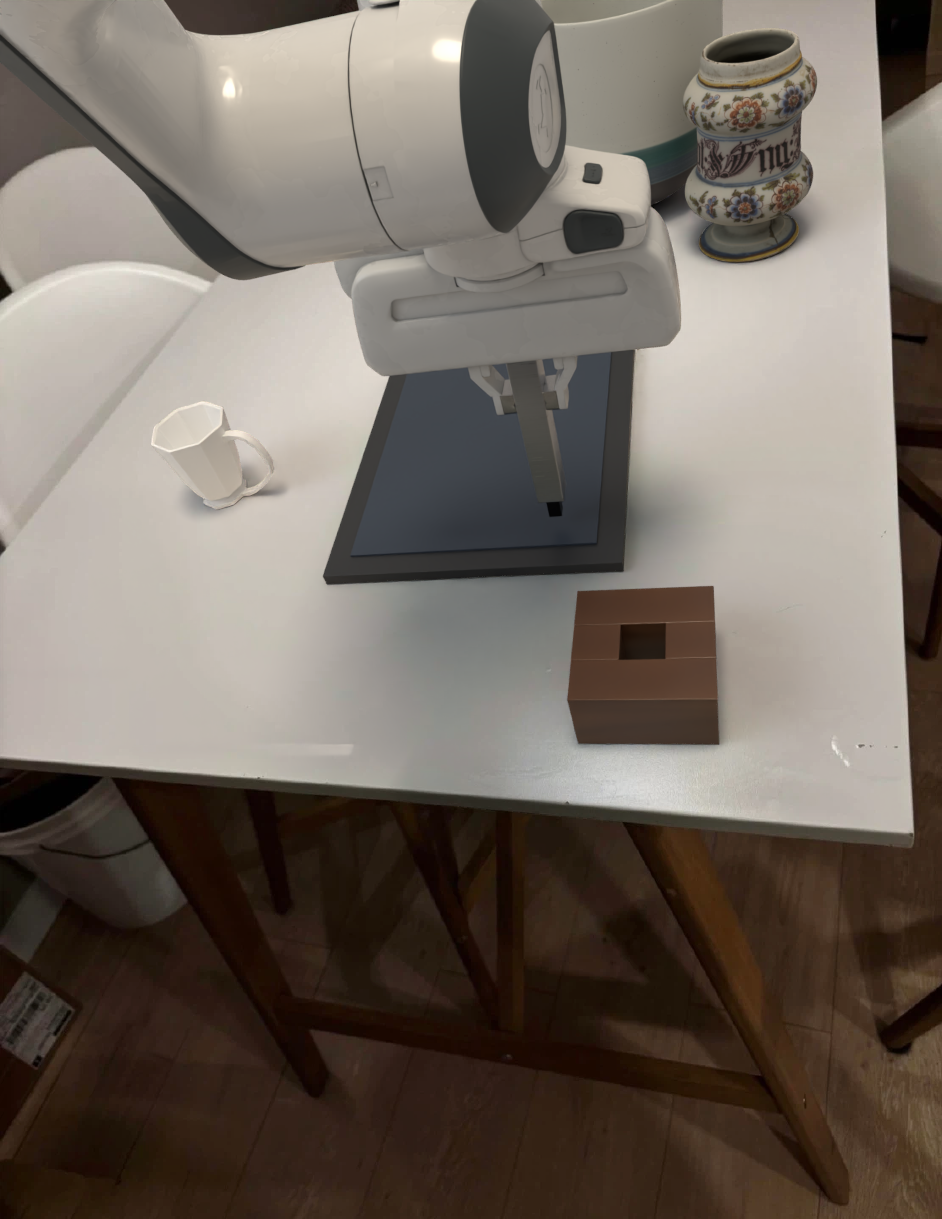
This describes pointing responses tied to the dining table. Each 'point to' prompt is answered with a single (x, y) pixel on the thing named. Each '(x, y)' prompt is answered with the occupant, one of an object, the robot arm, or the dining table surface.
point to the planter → (634, 78)
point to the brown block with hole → (644, 667)
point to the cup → (207, 453)
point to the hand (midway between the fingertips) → (533, 406)
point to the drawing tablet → (487, 482)
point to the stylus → (538, 433)
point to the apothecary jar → (749, 142)
